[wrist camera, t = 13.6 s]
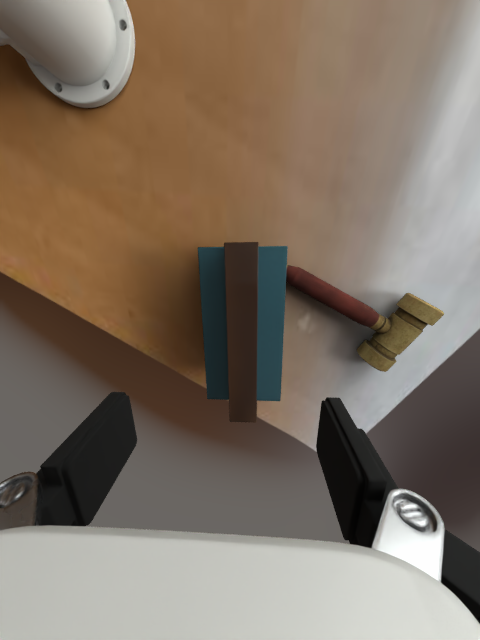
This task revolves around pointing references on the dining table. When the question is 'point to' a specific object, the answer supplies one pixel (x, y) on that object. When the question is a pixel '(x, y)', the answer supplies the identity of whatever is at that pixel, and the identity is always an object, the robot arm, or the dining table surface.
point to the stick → (242, 328)
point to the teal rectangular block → (269, 320)
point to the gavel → (371, 318)
